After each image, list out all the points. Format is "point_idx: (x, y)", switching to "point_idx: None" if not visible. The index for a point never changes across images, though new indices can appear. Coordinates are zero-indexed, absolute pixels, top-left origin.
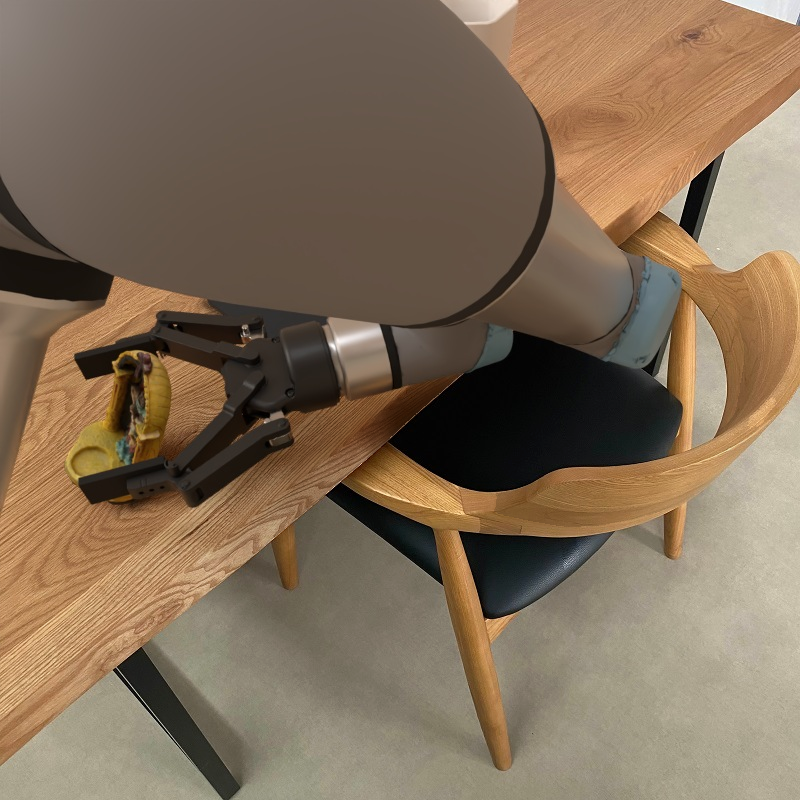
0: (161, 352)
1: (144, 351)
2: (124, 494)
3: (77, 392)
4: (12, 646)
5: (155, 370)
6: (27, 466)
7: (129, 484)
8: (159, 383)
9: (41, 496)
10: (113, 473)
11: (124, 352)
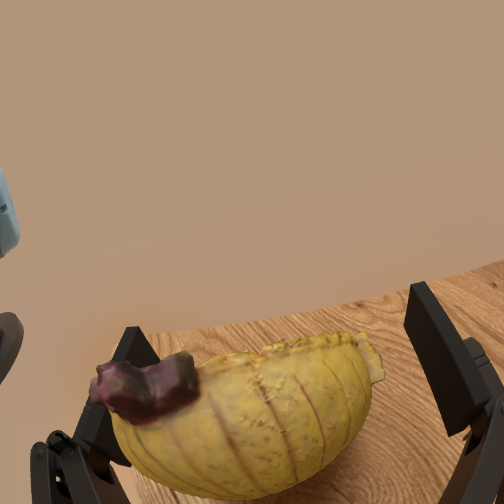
0: (469, 434)
1: (457, 402)
2: None
3: None
4: (148, 337)
5: (130, 437)
6: (334, 321)
7: None
8: (124, 449)
9: (291, 340)
10: None
11: (320, 334)
